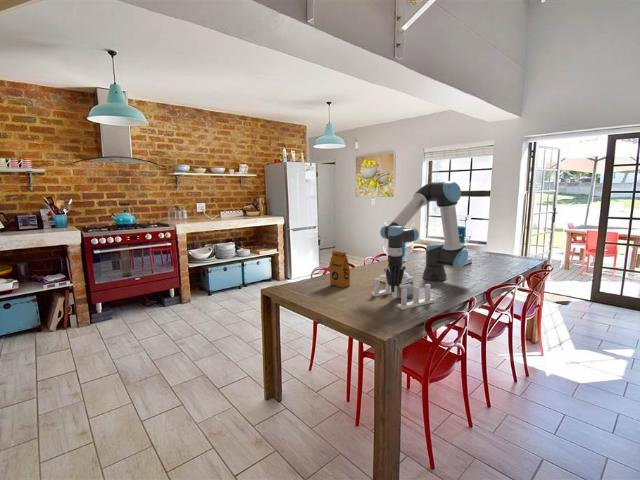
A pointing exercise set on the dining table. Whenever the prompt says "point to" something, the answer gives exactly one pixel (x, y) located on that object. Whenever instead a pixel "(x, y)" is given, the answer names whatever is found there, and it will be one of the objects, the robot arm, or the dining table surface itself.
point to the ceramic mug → (409, 291)
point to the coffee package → (339, 270)
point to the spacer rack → (405, 295)
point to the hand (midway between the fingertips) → (394, 297)
